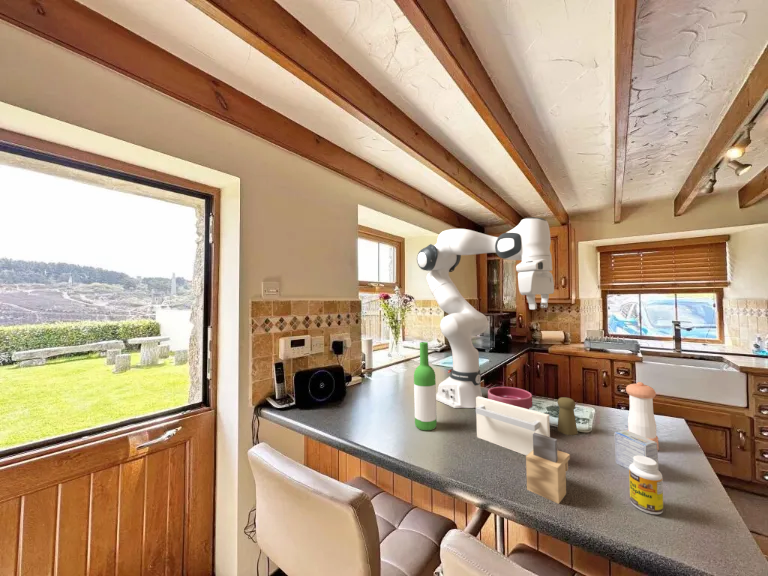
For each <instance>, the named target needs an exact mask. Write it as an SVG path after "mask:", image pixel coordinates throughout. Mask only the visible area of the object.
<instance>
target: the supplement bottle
mask: <svg viewBox="0 0 768 576" xmlns="http://www.w3.org/2000/svg"><path fill="white" fill-rule="evenodd" d="M628 472H629V473H628V474H629V475H628V479H629V481H628V482H629V500H630V503H631V504H632V505H633V506H634V507H635V508H636V509H638V510H639V511H642V512H643V513H646V514H650V515H660V514H662V513H663V512H664V488H663V484H664V483H663V475H662V473H661V471H658V470H657V463H656V461H654V460H653V459H651V458H648V457H645V456H634V457H633V463H632V464H630V466H629V470H628Z"/></svg>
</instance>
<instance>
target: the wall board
mask: <svg viewBox="0 0 768 576" xmlns="http://www.w3.org/2000/svg"><path fill="white" fill-rule="evenodd" d="M475 415H476V416H475V417H476V438H477V439H480V440H481V439H482V440H483V441H486V442H489V443H491V444H495V445H497V446H500V447H501V448H502V447H503V448H504V449H508V450H511V451H514V452H516V453H518V454H521V455H523V456H525V457H526V456H527V455H528V454H529V453H530V452H531V451H532V450H533V434H534V433H538V434H541V435H544V436H548V437H551V432H550V431H551V430H550V427H551V426H550V414H548V413H544V412H540V411H536V410H532V409H530V408H529V409H525V408H521V407H518V406H514V405H510V404H506V403H502V402H498V401H494V400H491V399H488V397H487V398H485V397H484V396H482V397H479V396H478V397H476V408H475Z"/></svg>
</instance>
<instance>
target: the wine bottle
mask: <svg viewBox="0 0 768 576" xmlns="http://www.w3.org/2000/svg"><path fill="white" fill-rule="evenodd" d="M436 383H437V382H436V372H435V370H434V369H433V367H432V366H430V364H429V343H428V342H426V341H420V342H419V365H418V366H417V367H416V368H415V370H414V372H413V393H414V394H413V396H414V397H413V400H414V403H413V404H414V425H415V427H416V428H417V429H418V430H421V431H432V430H434V429H435V428H437V424H438V423H437V418H438V417H437V400H436V393H437V390H436V389H437V388H436V387H437V384H436Z"/></svg>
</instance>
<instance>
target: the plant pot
mask: <svg viewBox="0 0 768 576" xmlns="http://www.w3.org/2000/svg"><path fill="white" fill-rule="evenodd" d="M487 399H491V400H494V401H498V402H502V403H506V404H510V405H514V406H518V407H521V408H525V409H529V410H530V409H531V408H532V407H533V394H532V393H531V392H529V391H528V390H525V389H522V388H518V387H512V386H494V387H491V388H489V389H488V390H487Z"/></svg>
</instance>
